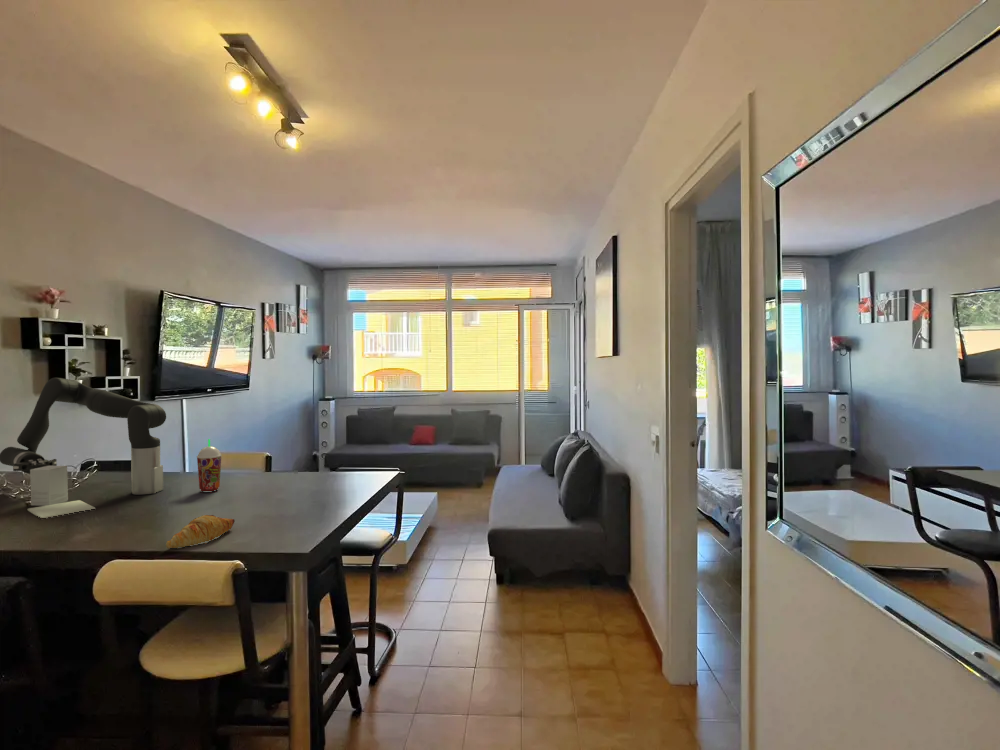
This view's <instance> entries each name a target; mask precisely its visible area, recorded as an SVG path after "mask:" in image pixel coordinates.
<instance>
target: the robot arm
mask: <svg viewBox="0 0 1000 750" xmlns="http://www.w3.org/2000/svg"><path fill="white" fill-rule="evenodd" d="M55 402H59V403H69V404H70V403H71V404H77V405H83V406H86V409H88V410H89V411H91V412H93V413H95V414H99V415H101V416H104V417H109V418H119V419H126V420H127V430H128V432H127V433H128V440H129V443H130V457H131V459H130V461H131V462H130V464H131V466H130V467H131V469H130V471H131V472H130V473H131V474H130V475H131V494H132V495H141V496H142V495H150V494H157V493H159V492H160V491H163V490H164V466H163V465H162V464H161V440H160V438H159V437H156V436H152V435H151V434H150V429H155V428H158V427H160V426H162V425H164V424H165V422H166V421H167V420H166V419H167V413H166V411H165V409H164V408H163V407H161V406H160V405H158V404H155V403H149V402H144V401H138V400H135V399H133V398H129V397H126V396H123V395H120V394H118V393H115V392H111V391H108V390H104V389H99V388H92V387H90V386H88V385H86V384H83V383H82V382H79V381H77V380H73V379H71V378H70V379H69V378H63V377H52V378H50V379H49V380H47V382H46V383H45V384H44V386H43V387H42V390H41V392H40V394H39V396H38V399H37V401H36V403H35V406H34V409H33V411H32V414H31V416H30V417H29V420H28V421H27V423H26V424H25V426H24V427H23V429H22V430H21V432H20V433H19V435H18V436H17V440H16V442H17V443H18V444H19V445H20V446H22V447H25V448H27V449H25V448H22V447H20V448H19V447H16V446H8V447H7V446H6V448H4V449H2V450H1V452H0V463H1V464H2V465H6V466H10V467H12V468H13V469H12V470H13V472H23V473H25V474H29V475H30V470H31V469H35V468H40V467H45V466H58V464H57V461H58V460H57V459H56V458H52V459H49V460H48V459H45V458H44V456H43V455H41V454H39V453H37V450H38V449H39V446H40V443H41V442H42V440H43V439H44V437H45V436H46V434H47V432H48V431H49V427H50V418H49V417H50V416H49V414H50V410H51V408H52V406H53V405H54V403H55ZM156 492H157V493H156Z"/></svg>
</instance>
